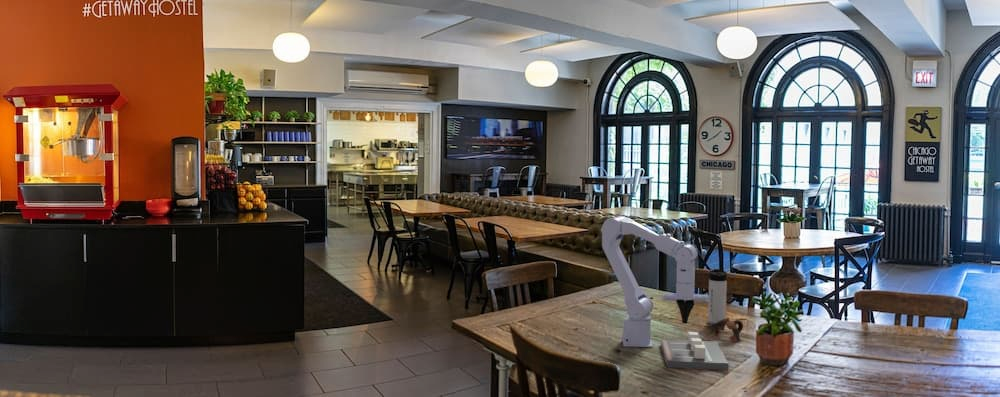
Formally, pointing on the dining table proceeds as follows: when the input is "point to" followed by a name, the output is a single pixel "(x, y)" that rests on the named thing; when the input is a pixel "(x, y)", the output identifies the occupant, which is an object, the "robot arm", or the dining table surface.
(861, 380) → the dining table surface
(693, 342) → the block
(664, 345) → the panel
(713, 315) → the travel mug
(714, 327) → the pottery mug
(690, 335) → the block
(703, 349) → the block
